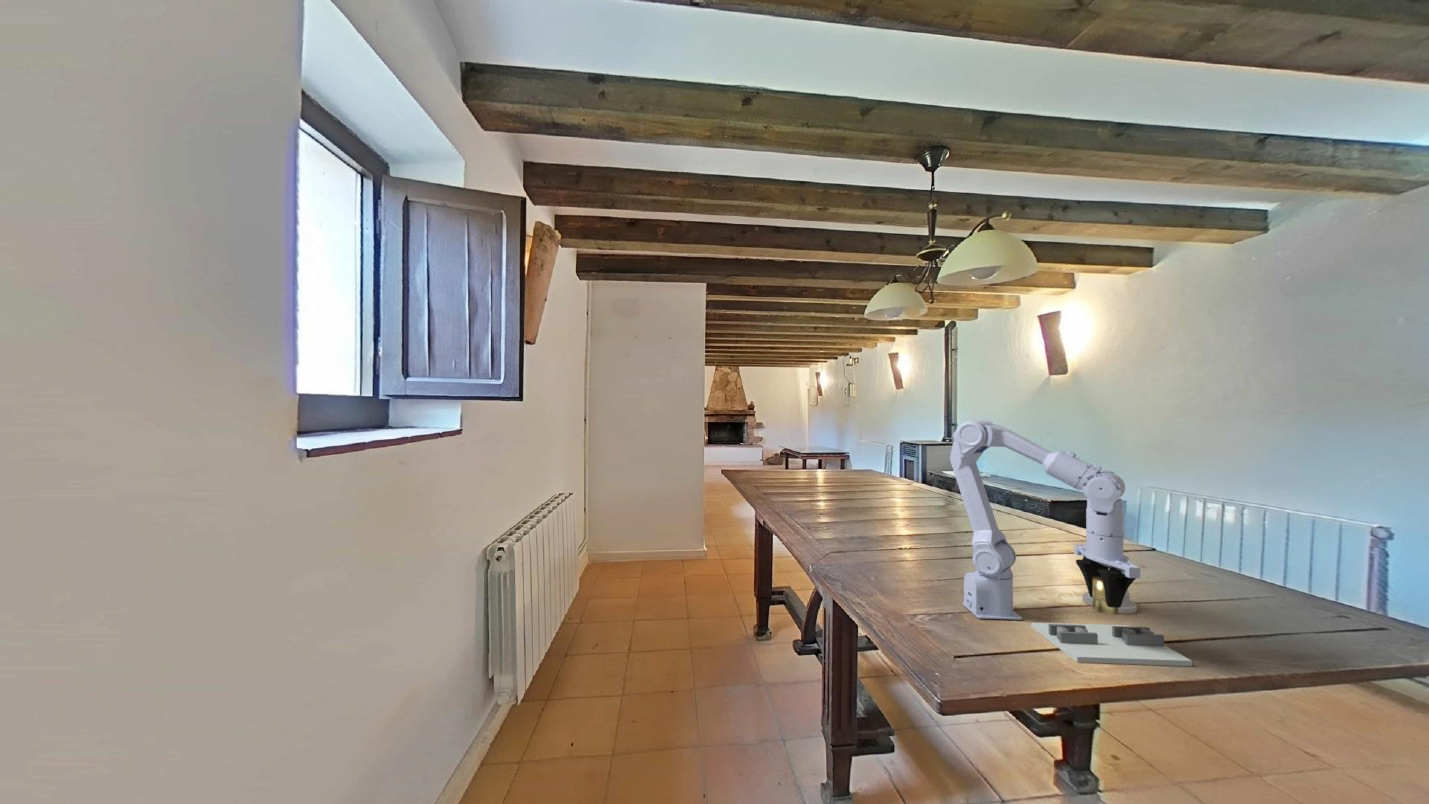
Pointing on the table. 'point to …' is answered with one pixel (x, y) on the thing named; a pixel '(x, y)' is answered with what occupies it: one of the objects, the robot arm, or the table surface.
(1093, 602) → the pin
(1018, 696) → the table surface
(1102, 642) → the chain base
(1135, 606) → the mechanical component
